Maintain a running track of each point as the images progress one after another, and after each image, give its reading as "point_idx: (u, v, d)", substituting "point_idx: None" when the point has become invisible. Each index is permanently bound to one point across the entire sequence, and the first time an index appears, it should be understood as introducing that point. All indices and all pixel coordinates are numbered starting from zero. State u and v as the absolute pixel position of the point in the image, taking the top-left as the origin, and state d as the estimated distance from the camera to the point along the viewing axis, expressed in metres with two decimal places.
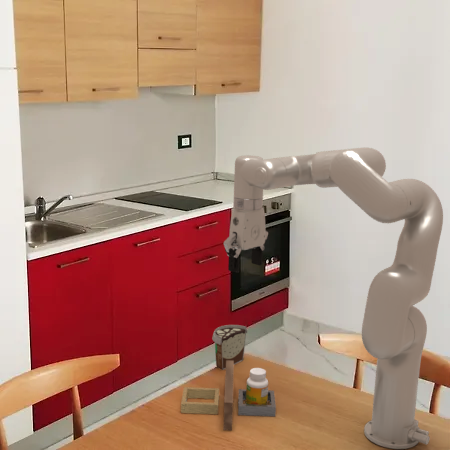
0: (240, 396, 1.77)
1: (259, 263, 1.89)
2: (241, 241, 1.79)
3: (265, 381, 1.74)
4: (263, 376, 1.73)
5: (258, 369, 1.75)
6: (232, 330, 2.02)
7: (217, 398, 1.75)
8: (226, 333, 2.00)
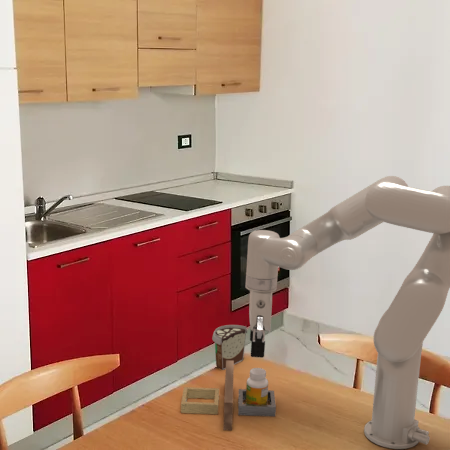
0: (240, 396, 1.77)
1: None
2: (268, 324, 1.67)
3: (265, 381, 1.74)
4: (263, 376, 1.73)
5: (258, 369, 1.75)
6: (232, 330, 2.02)
7: (217, 398, 1.75)
8: (226, 333, 2.00)
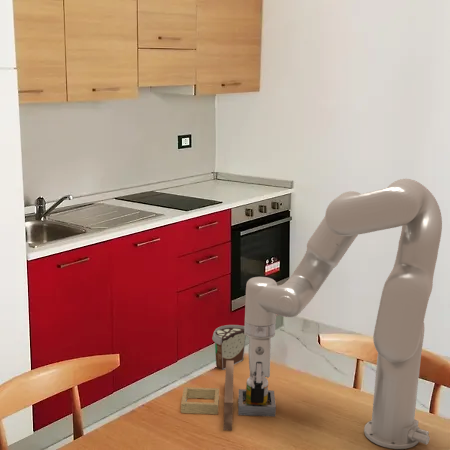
0: (240, 396, 1.77)
1: None
2: (268, 370, 1.69)
3: (265, 381, 1.74)
4: None
5: None
6: (232, 330, 2.02)
7: (217, 398, 1.75)
8: (226, 333, 2.00)
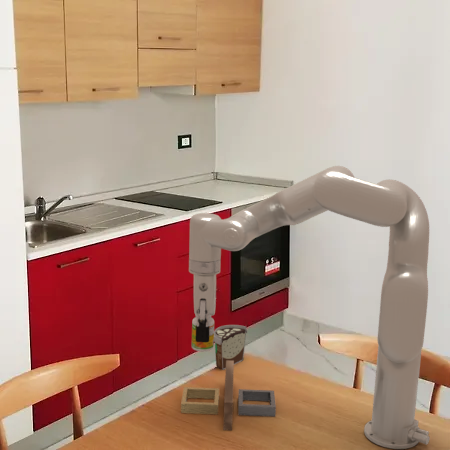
0: (240, 396, 1.77)
1: None
2: (212, 307, 1.66)
3: (211, 320, 1.71)
4: None
5: None
6: (232, 330, 2.02)
7: (217, 398, 1.75)
8: (226, 333, 2.00)
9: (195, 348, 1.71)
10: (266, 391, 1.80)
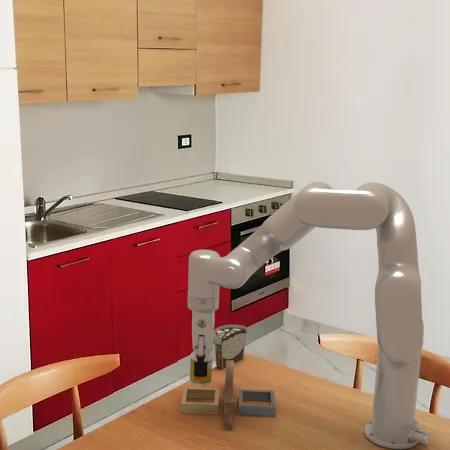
0: (240, 396, 1.77)
1: None
2: (210, 343, 1.68)
3: (209, 355, 1.73)
4: (207, 350, 1.72)
5: None
6: (232, 330, 2.02)
7: (217, 398, 1.75)
8: (226, 333, 2.00)
9: (193, 382, 1.73)
10: (266, 391, 1.80)
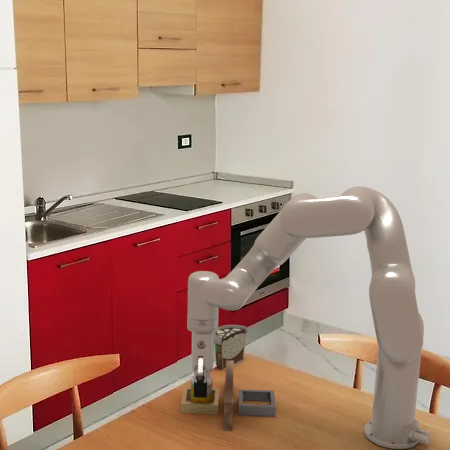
0: (240, 396, 1.77)
1: None
2: (210, 364, 1.69)
3: (209, 379, 1.74)
4: (207, 374, 1.73)
5: None
6: (232, 330, 2.02)
7: (217, 398, 1.75)
8: (226, 333, 2.00)
9: None
10: (266, 391, 1.80)
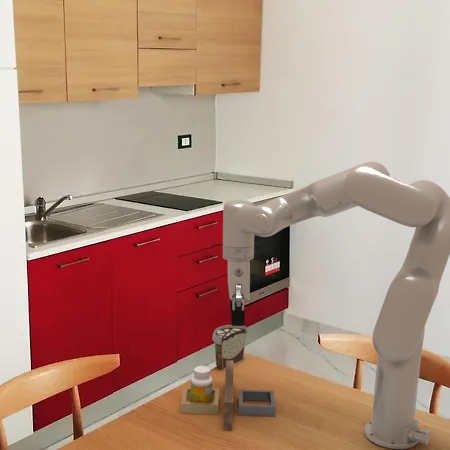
0: (240, 396, 1.77)
1: None
2: (247, 292, 1.69)
3: (209, 379, 1.74)
4: (207, 374, 1.73)
5: (202, 367, 1.76)
6: (232, 330, 2.02)
7: (217, 398, 1.75)
8: (226, 333, 2.00)
9: None
10: (266, 391, 1.80)
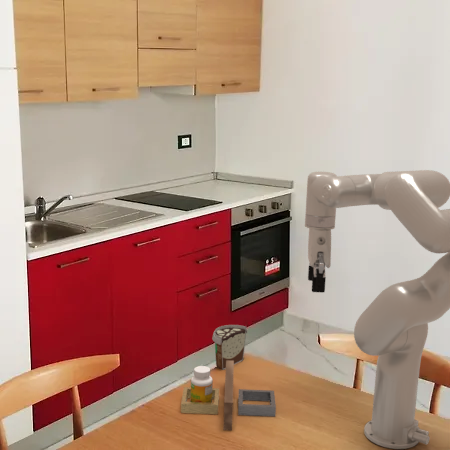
0: (240, 396, 1.77)
1: None
2: (329, 260, 1.76)
3: (209, 379, 1.74)
4: (207, 374, 1.73)
5: (202, 367, 1.76)
6: (232, 330, 2.02)
7: (217, 398, 1.75)
8: (226, 333, 2.00)
9: None
10: (266, 391, 1.80)
